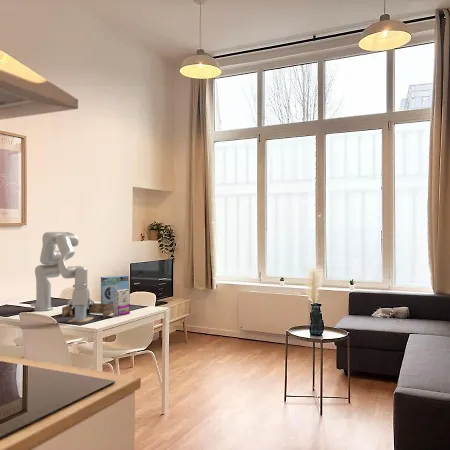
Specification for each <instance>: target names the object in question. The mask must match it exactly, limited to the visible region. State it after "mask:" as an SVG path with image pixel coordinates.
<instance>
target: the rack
mask: <svg viewBox="0 0 450 450" xmlns="http://www.w3.org/2000/svg"><path fill="white" fill-rule="evenodd" d="M89 305H91V302H90V303H89ZM61 308H62V309H61V310H62V311H61V317H62V318H64V317H67V316H70V312H71V311H72V308H71V307H70V306H69V304H68V305H65V306H63V307H61ZM86 309H87V307H86ZM90 313H102V318H106V317H108V316H110V315H112V314H113V304H110V303H101V302H100V303H99V302H97V303H96V302H94V304H93V306H92V307H91V308H90Z"/></svg>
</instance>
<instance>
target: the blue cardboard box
mask: <svg viewBox="0 0 450 450" xmlns="http://www.w3.org/2000/svg"><path fill="white" fill-rule="evenodd" d="M122 289H129V275H126V274H125V275H115V276H114V275H111V276H101V277H100V303H110V304H113V291H117V290H122Z"/></svg>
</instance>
